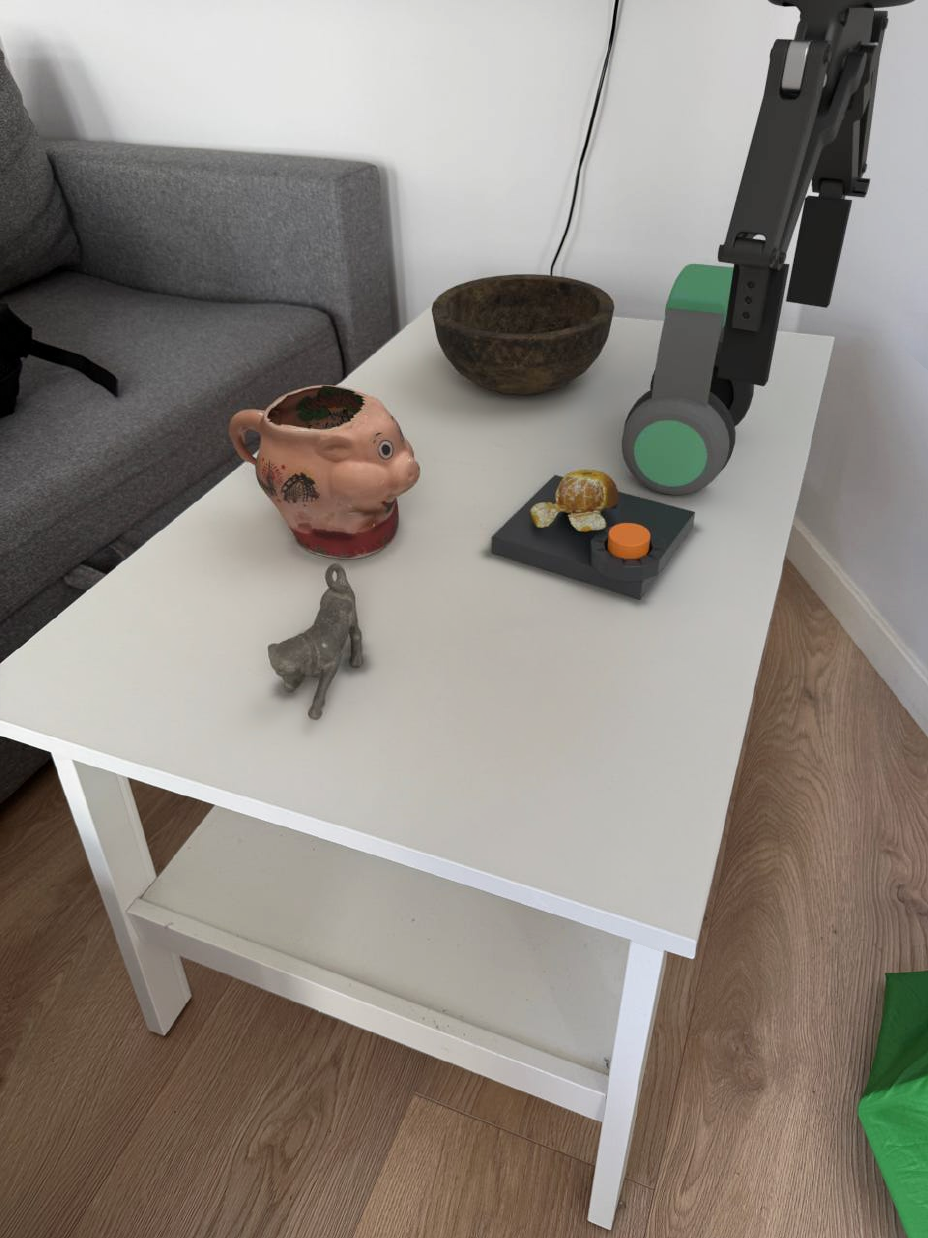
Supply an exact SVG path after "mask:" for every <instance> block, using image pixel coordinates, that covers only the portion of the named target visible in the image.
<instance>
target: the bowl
mask: <svg viewBox="0 0 928 1238" xmlns="http://www.w3.org/2000/svg"><path fill="white" fill-rule="evenodd" d="M614 311H615V303H614V300H613V299H612V297H611V296H610V295H609V294H608V293H607V292H606V291H605V290H603V289H602V288H600V287H598V286H596V285H593V284H592V283H589V282H585V281H582V280H579V279H575V278H571V277H566V276H559V275H552V274H551V275H550V274H536V273H524V274H523V273H521V274H520V273H519V274H518V273H517V274H514V273H513V274H501V275H493V276H488V277H482V278H478V279H472V280H469V281H466V282H462V283H460V284H457V285H455V286H453V287H450V288H448V289H446V290H445V291H443V292H442V293H441V294H439V295H438V296H437V297H436V299H435V300H434V301H433V302H432V306H431V314H432V320H433V323H434V324H433V325H434V330H435V334H436V335H435V336H436V339H437V343H438V345H439V347H440V349H441V351H442V352H443V354H444V356H445V358H446V359H447V360H448V361H449V363H450V364H451V365H452V367H454V369H455V370H456V371H457V372H458V374H460V375H461V376H463V377H464V378H466V379H467V380H468V381H471V382H472V383H474V384H475V385H476V386H477V385H478V386H479V387H482V388H485V389H488V390H492V391H494V392H498V393H502V394H508V395H516V396H517V395H522V396H523V395H535V394H539V393H540V394H541V393H545V392H548V391H551V390H554V389H557V388H561V387H562V386H565V385H567V384H569V383H571V382H572V381H574V380H575V379H577V378H579V377H580V376H581V375H583V374H585V372H586V371H587V370H588V369H589V368H590V367H591V366H592V365H593V363H595V361H596V360H597V359H598V357H600V355H601V353H602V351H603V349H604V347H605V345H606V344H607V342H608V339H609V336H610V331H611V325H612V321H613V316H614Z"/></svg>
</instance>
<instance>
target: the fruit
mask: <svg viewBox="0 0 928 1238" xmlns="http://www.w3.org/2000/svg"><path fill="white" fill-rule="evenodd" d="M562 477H563V479H562V480H561V482H560V484H559V486H558V488H557V491H556V495H555V499H556V503H555V504H552V503H551V502H547V503H545V502H543V503H538V504H535V505H534V506H533V507H532V508H531V510H530V512H531V515H532V519H533V522H534V523H535V525H536V526H537V527H540V528H542V527H546V526H547V527H548V526H549V524H551V523H552V522H553V521H554V518H555V517H556V515H557V513H558V512H560V511H564V512H566V513H569V514H570V515H568V516H569V520H570V521H571V525H572V526H574V527H575V528H576V529H577V531H585V532H586V531H589V530H591V531H594V530H601V529H604V528H605V527H606V521H605V519H604V518H603V517H602V516H601V515H600V512H601V511H602V510H603V509H605V508H612V509H614V508H616V507H617V505H618V501H619V499H618V497H619V496H618V492H619V489H618V488H617V484H616V483H615V481H614V480H613V479H612V477H611V476H610V475H608V474H607V473H606V472H603V471H599V470H594V469H593V470H592V469H580V470H575V471H571V472H568V473H566V474H565V475H564V476H562Z"/></svg>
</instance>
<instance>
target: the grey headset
mask: <svg viewBox="0 0 928 1238" xmlns="http://www.w3.org/2000/svg"><path fill="white" fill-rule="evenodd" d="M733 268H734V266H723V265H714V264H713V265H712V264H704V263H703V264H702V263H689V264H686V265H685V266H684V267H683V268H682V270H681V271H680V272H679V274H678V275H677V277H676V278H675V280H674V282H673V284H672V287H671V289H670V291H669V292H670V293H669V295H668V298H667V301H666V304H665V308H664V320H663V324H662V329H661V333H660V340H659V344H658V350H657V356H656V363H655V369H654V371H653V373H652V376H651V381H650V385H649V387H650V388H649V390H648V391H646V392H645V393H643V395H641V396H640V397H639V398H638V399H637V400H636V402H635V403H634V405H633V406H632V407H631V409H630V411H629V412H628V414H627V417H626V419H625V421H624V427H623V432H622V436H621V437H622V438H621V453H622V457H623V460H624V463H625V465H626V467H627V469H628V470H629V472H630V473H631V474H632V476H633V477H634V478H635V479H636V480H637V481H638V482H639V483H641V485H644V486H645V487H646V488H648V489H651V490H653V491H655V492H657V493H660V494H665V495H670V496H671V495H672V496H679V495H680V496H682V495H688V494H693V493H696V492H698V491H700V490H702V489H705V488H706V487H707V486H708V485H710V484H712V483H713V482H714V481H715V479H717V477H718V476H719V475H720V473H721V472H723V470H724V469H725V468H726V466H727V465H728V463H729V461H730V459H731V457H732V455H733V452H734V448H735V445H736V436H737V435H736V433H737V432H736V427H737V426H738V425H740V423H741V422H742V421H743V419H745V417H746V415H747V414H748V411H749V410H750V408H751V405H752V402H753V398H754V392H755V391H754V389H755V385H754V384H749V383H744V382H739V381H734V380H729V379H724V378H719V377H717V376H718V369H719V362H720V356H721V349H722V342H723V335H724V329H725V322H726V315H727V308H728V301H729V295H730V288H731V281H732V274H733Z"/></svg>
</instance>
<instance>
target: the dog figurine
mask: <svg viewBox="0 0 928 1238" xmlns="http://www.w3.org/2000/svg"><path fill="white" fill-rule="evenodd" d="M334 572H335V573H336V579H334V576H333V575H334ZM324 579H325V582H326V586H327V589H326V590H325V591H324V592H323V594H322V596H321V597H320V600H319V610H318V612H317V615H316V616H315V620H314V621H313V624H312V625H311V626H310V627H308V628H307V629H306V630H305V631H304V632H300V633H298V634H297V635H295V636H293V637H289V638H287V639H286V640H283V641H281V642H279V643H271V644H269V645H268V646H267V652H268V659H269V663H270V666H271V668H272V669H273V670H274V672H275V674H276V675H277V676H279V677H281V678H282V680H283V681H284V682H285V683H284V685H283V689H284V690H285V691H286V692H289V693H290V692H293V691H295V690H296V689H297V688H298V687H299V686H300V685H301V683H302V681H304V679H305V678H306V677H310V678H311V677H313V678H314V677H317V676H319V675H320V677H319V681H318V685H317V689H316V691H315V694H314V696H313V699H312V704H311V706H310V707H309V709H308V711H307V716H308V718H310V720H314V721H319V720H320V719H321V718H322V716H323V708H324V706H325V705H326V695H327V692H328V690H329V687H330V685H331V684H332V680H333V679H334V678H335V676H336V674H337V672H338V670H339V667H340V665H341V662H342V659H343V653H342V652H343V651H342V650H343V649H344V647H345V645H346V644H347V641H348V638H349V640H350V658H349V664H350V665H349V666H351V667H354V668H359V667H361V666H362V665H363V664H364V660H363V658H362V653H363V645H362V641H363V637H362V631H361V628H360V627H359V620H358V619H359V618H358V614H357V605H356V595H355V592H354V590H353V589H352V586H351V585H350V583H349V581H348V578H347V573H346V571H345V568H344V567H343V566H341V564H339V563H337V562H335V563H332V564H330V565H329V566H328V567H327V568H326V570H325V574H324Z"/></svg>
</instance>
